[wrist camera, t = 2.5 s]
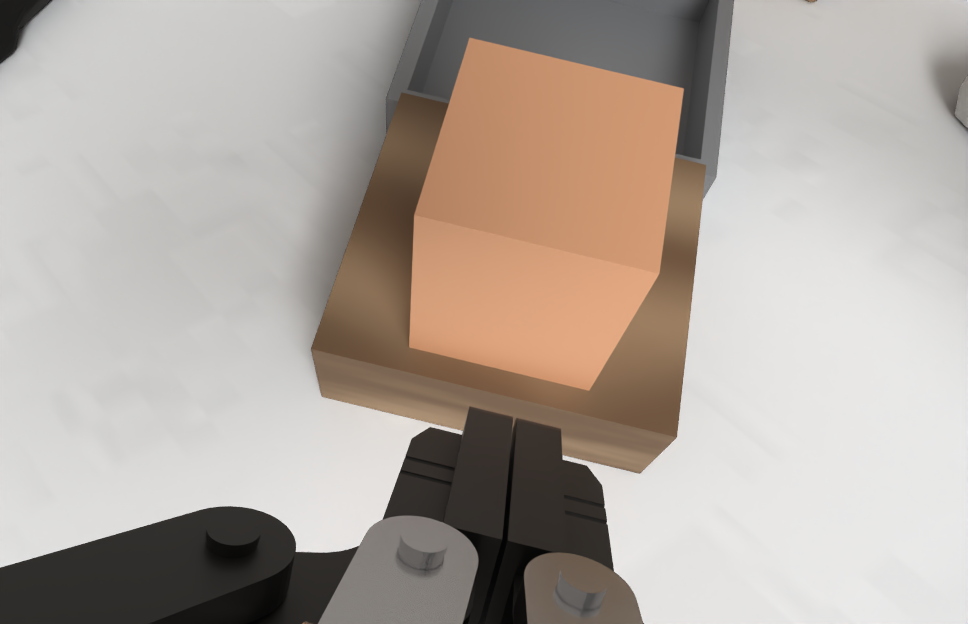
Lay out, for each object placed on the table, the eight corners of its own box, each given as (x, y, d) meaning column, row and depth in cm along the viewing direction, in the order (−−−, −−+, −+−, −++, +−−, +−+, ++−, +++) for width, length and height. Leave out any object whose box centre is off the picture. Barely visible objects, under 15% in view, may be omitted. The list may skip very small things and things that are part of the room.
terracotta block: (589, 390, 30) (659, 273, 22) (408, 347, 30) (414, 214, 22) (614, 238, 33) (683, 88, 25) (451, 199, 33) (469, 37, 25)
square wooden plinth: (640, 473, 34) (676, 437, 30) (321, 396, 34) (310, 349, 30) (671, 225, 40) (706, 164, 36) (400, 161, 40) (401, 92, 36)
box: (687, 224, 40) (716, 177, 37) (386, 152, 40) (386, 98, 37) (711, 22, 47) (737, -35, 43) (453, -39, 47) (457, -100, 43)
